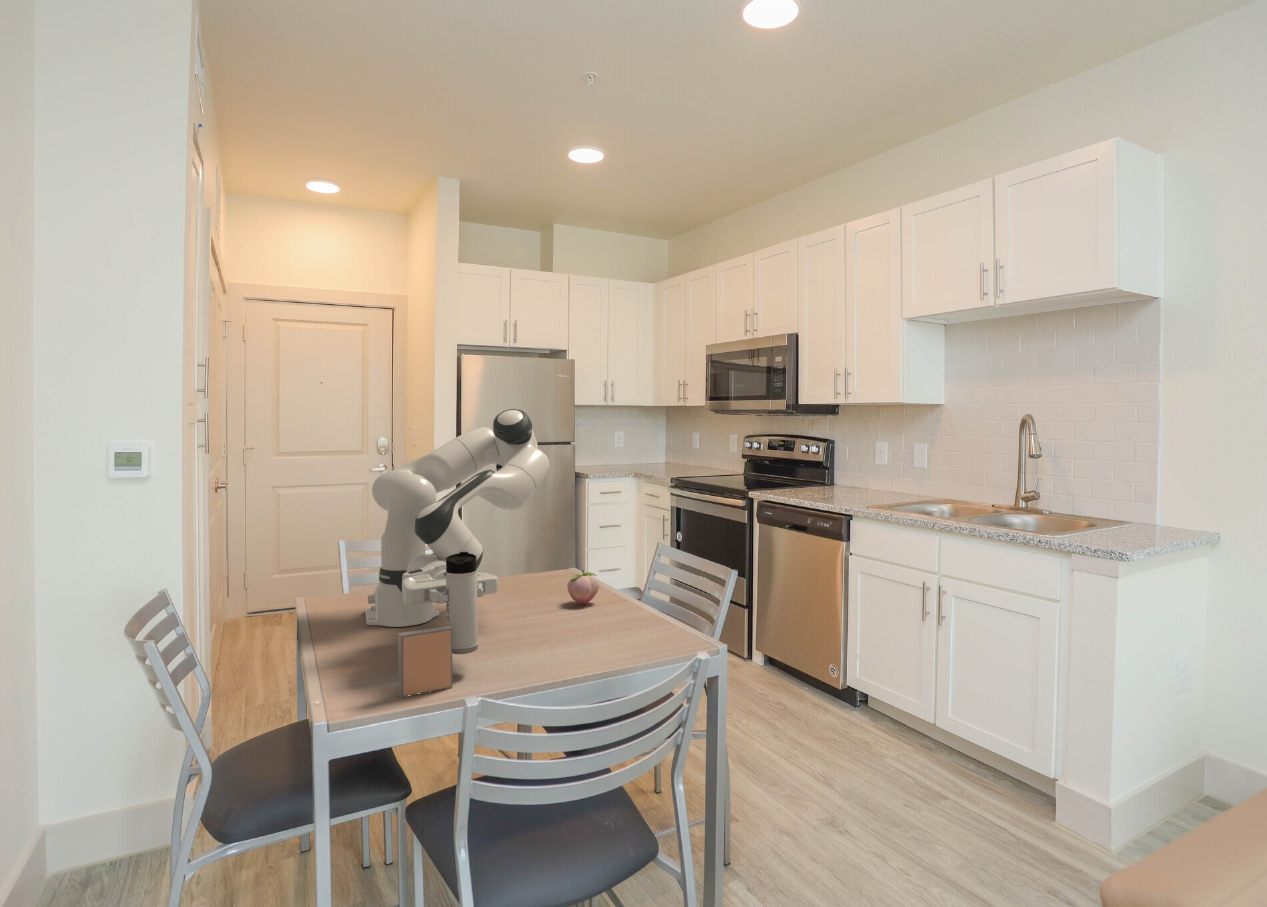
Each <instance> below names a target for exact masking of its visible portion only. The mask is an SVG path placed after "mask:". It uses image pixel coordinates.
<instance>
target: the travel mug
mask: <svg viewBox="0 0 1267 907" xmlns="http://www.w3.org/2000/svg"><path fill="white" fill-rule="evenodd" d="M446 567H447V568H446V593H448V602H446V603H445V604H446V610H445V611H446V614H445V616H446V626H450V627H451V628H452V655H467V654H471V653H474V652H475V651H477V650H478V649H479V648H478V646H479V644H478V643H479V642H478V640H479V634H478V632H479V630H478V628H479V627H478V597H477V573H478V568H477V567H476V555H474V554H470V553H468V552H460V553H458V554H453V555H450V556H448V557H447V558H446Z"/></svg>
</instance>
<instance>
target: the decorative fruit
mask: <svg viewBox="0 0 1267 907" xmlns="http://www.w3.org/2000/svg"><path fill="white" fill-rule="evenodd" d="M584 571H585V570H584V569H582V573H577V574H574V575H573V576H571V577H570V579H568V582H567V592H568V594H569V596H570V598H571V599H572V600H574V601H575V602H576V603H578V604H581V605H585V604H587V603H589V602H590V601H592V599H594V598H595V596H596V595H597V594H598V591H599V588H600V583H599V581H598V579H597V578H596V577H597V574H596V573H594V572H591V571H586V572H584Z"/></svg>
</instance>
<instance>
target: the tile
mask: <svg viewBox="0 0 1267 907" xmlns="http://www.w3.org/2000/svg"><path fill="white" fill-rule="evenodd" d="M397 666H398V667H397V668H398V669H397V676H398V677H397V678H398V679H397V680H398V681H397V683H398V688H397V689H398V694H399V695H400V696H401V697H404V698H407V697H406V696H408V695H414V694H417V693H424V694H426V693H425V692H429V691H434V692H437V691H436V690H439V691H441V690H440V689H444V690H448V688H449V689H451V688H450V687H452V688H453V654H452V628H451V627H450V626H447V625H444V626H438V627H431V628H424V629H418V630H411V631H403V632H398V633H397ZM429 693H430V692H429ZM399 695H398V696H399ZM400 696H399V697H400ZM414 696H415V695H414ZM401 697H400V698H401Z"/></svg>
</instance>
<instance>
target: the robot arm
mask: <svg viewBox="0 0 1267 907" xmlns="http://www.w3.org/2000/svg"><path fill="white" fill-rule="evenodd" d="M492 423H493V424H492V429H491V428H489V427H487V426H481V427H478V428H474V429H471V430H469V431H467V432H464V433H462V434H460V435H459V436H456V437H455V438H453V439H451V440H450V441H448V442H446V443H445V444H442V445H440V446H439V447H437V448H436V449H434V450H433V451H431V452H428V453H427V454H425V455H422V456H419V457H418V458H416V459H413V460H410V461H409V462H407V463H405V464H402V465H399V466H398V467H396V468H393V469H391V470H389V471H387V472H385V473H383V474H380V475H379V476H378V477H377V478H376V479H375V480H374V482H373V484H372V487H371V494H372V497H373V499H374V501H375V502H376V504H377V505H378V506H379V507H380V508H381V509H383V510H384V511H387V518H386V519H387V520H386V525H385V528H384V532H383V534H382V535H381V538H380V540H381V541H380V542H381V544H380V546H381V547H380V549H381V550H380V553H381V554H380V557H381V558H380V559H381V561H380V563H381V566H380V568H379V572H378V581H379V582H378V584H377V585H376V587H375V589H374V590H373V594H368V595H367V604H369V605H370V604H373V605H371V606H368V607H366V608H365V610H364V614H365V616H364V617H365V624H366V626H382V627H389V628H390V627H391V628H397V627H399V628H401V627H409V626H417V625H421V624H424V623H427V622H430V621H431V620H432V619H433V618H436V617H438V616H440V611H439V610H437V609H435V606H434V603H435V604H437V605H438V604H439V605H442V604H446V602H448V593H446V568H447V567H446V558H447V557H448V556H450V555H453V554H458V553H460V552H468V553H470V554H474V555H476V567H477V569H478V568H479V567H480V566H481V562H482V559H483V556H484V546H483V545H482V544H481V543H480V541H479V540H478V539H477V537H476V536H475V535H474V533H473V532H471V530H470V528H468V526H467V525H466V524H465V522H464V521H463V520H462V519H461V518H460V515H459V509H460V508H462V507H463V506H465V505H466V504H467V503H468V502H471V500H473V499H474V498H476V497H480V498H482V499H484V500H485V501H487V502H489V503H491V505H493V506H495V507H497V508H500V509H502V510H508V511H510V510H511V511H513V510H518V509H521V508H523V507H524V506H525V505H526V504H528V503H529V502H530V500H531V499H533V497H534V496H535V494H536V493H537V492H538V490H540V487H541V486H542V485H543V483H544V481H545V479H546V478H547V475H548V474H549V471H550V467H551V464H550V459H549V458H548V456H547V455H546V454H545V453H544V452H543V451H542V450H541V449H539V445H538V440H537V438H536V435H535V432H534V429H533V423H532V421H531V418H530V417H529V414H527V412H525V411H524V410H522V409H521V410H520V409H517V408H510V409H505V410H503V411H501V412H499V413H498V414H497V415H496V416H495V417H494V419H493V422H492ZM494 464H495V468H496V469H495V470H496V471H495V470H493V469H487V470H482V469H483V468H485V467H486V466H488V465H494ZM480 470H482V471H481V472H479V471H480ZM477 472H479V473H477ZM472 475H473V476H472ZM469 477H470V478H469ZM468 478H469V479H468ZM466 479H467V480H466ZM464 480H466V481H464ZM460 483H461V484H460ZM458 484H460V485H458ZM457 485H458V486H457ZM455 486H457V487H456V488H454V487H455ZM451 488H454V489H453V490H452V491H450V492H448V493H447V494H446V495H444V496H443V497H441V498H440V499H438V500H437V498H438V497H437V496H438V494H439V493H441V492H443V491H446V490H449V489H451ZM426 545H427V547H428V548H429V549H430V550H431V552H432V553H428V554H426ZM476 573H477V598H483V597H484V596H485V595H491V594H492V595H493V594H496V593H497V592H498V591H499V577H498V576H497V575H494V574H492V573H488V572H484V571H483V572H481V571H480V572H476Z"/></svg>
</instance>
